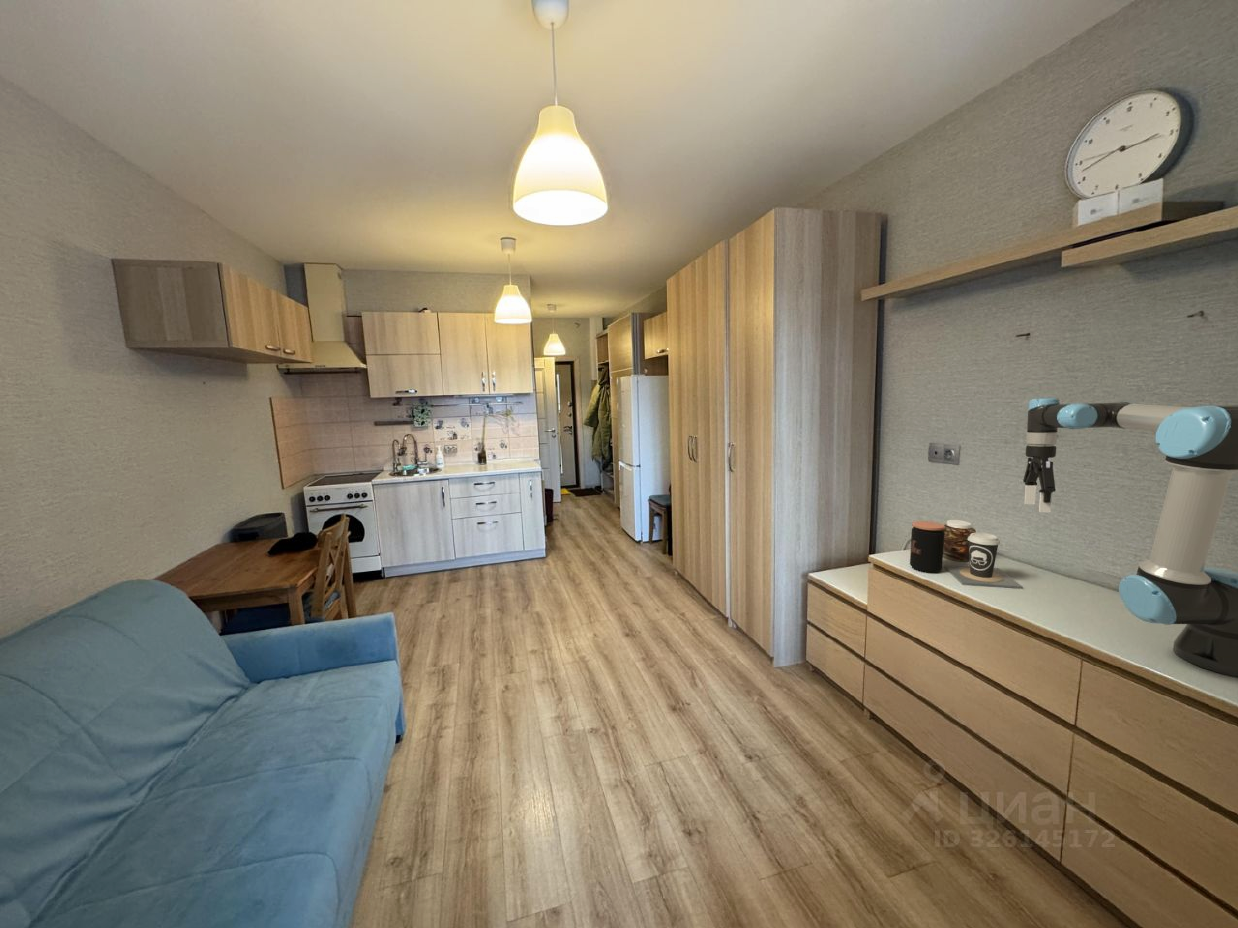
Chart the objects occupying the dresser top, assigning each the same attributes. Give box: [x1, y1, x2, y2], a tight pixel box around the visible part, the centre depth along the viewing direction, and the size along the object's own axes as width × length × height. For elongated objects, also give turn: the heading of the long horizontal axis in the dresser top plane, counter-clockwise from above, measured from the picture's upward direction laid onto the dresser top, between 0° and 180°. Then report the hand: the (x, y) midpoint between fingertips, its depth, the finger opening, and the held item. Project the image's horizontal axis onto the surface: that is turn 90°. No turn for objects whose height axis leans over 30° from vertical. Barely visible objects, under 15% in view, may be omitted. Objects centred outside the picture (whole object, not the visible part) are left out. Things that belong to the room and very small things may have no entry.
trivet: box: [943, 564, 1024, 590], centre depth 174 cm, size 18×18×1 cm
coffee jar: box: [909, 520, 945, 574], centre depth 183 cm, size 11×11×18 cm
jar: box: [943, 519, 977, 563], centre depth 194 cm, size 12×12×15 cm
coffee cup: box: [968, 532, 1001, 578], centre depth 173 cm, size 10×10×15 cm
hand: (1036, 508), depth 158 cm, fingers open, 13 cm apart
